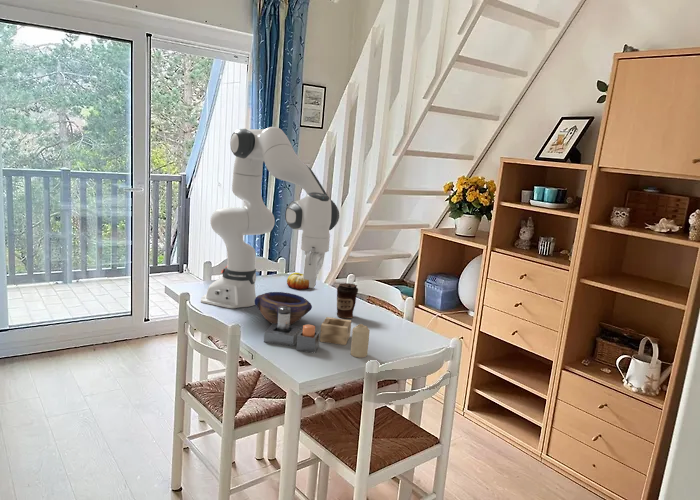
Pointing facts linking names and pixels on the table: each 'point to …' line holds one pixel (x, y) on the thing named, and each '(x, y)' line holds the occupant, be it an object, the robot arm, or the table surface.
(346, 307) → the coffee cup
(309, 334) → the button
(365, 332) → the candle
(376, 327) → the table surface
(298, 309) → the bowl
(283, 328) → the steel peg
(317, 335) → the button housing
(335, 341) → the wooden box
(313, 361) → the table surface
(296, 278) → the fruit
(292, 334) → the socket block
